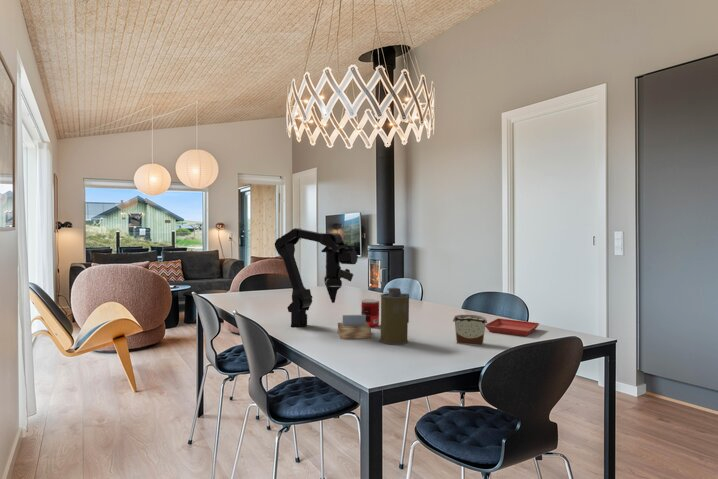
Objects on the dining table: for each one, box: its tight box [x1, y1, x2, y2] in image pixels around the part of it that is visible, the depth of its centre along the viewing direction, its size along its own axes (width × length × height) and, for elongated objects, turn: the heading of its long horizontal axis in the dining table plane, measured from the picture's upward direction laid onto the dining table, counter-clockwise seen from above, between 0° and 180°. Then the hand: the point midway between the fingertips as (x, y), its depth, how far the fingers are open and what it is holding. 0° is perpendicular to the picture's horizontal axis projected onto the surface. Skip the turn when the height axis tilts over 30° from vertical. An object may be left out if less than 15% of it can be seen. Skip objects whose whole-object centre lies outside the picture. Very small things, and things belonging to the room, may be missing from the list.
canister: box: [379, 287, 410, 346], centre depth 177 cm, size 11×10×20 cm
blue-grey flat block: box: [341, 314, 366, 326], centre depth 187 cm, size 9×2×7 cm, turn 97°
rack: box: [337, 322, 372, 340], centre depth 187 cm, size 12×12×4 cm
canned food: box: [360, 298, 380, 328], centre depth 206 cm, size 8×8×11 cm
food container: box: [452, 314, 488, 347], centre depth 176 cm, size 12×6×10 cm, turn 71°
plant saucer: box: [485, 318, 540, 337], centre depth 198 cm, size 18×18×3 cm
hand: (332, 301), depth 196 cm, fingers open, 9 cm apart
